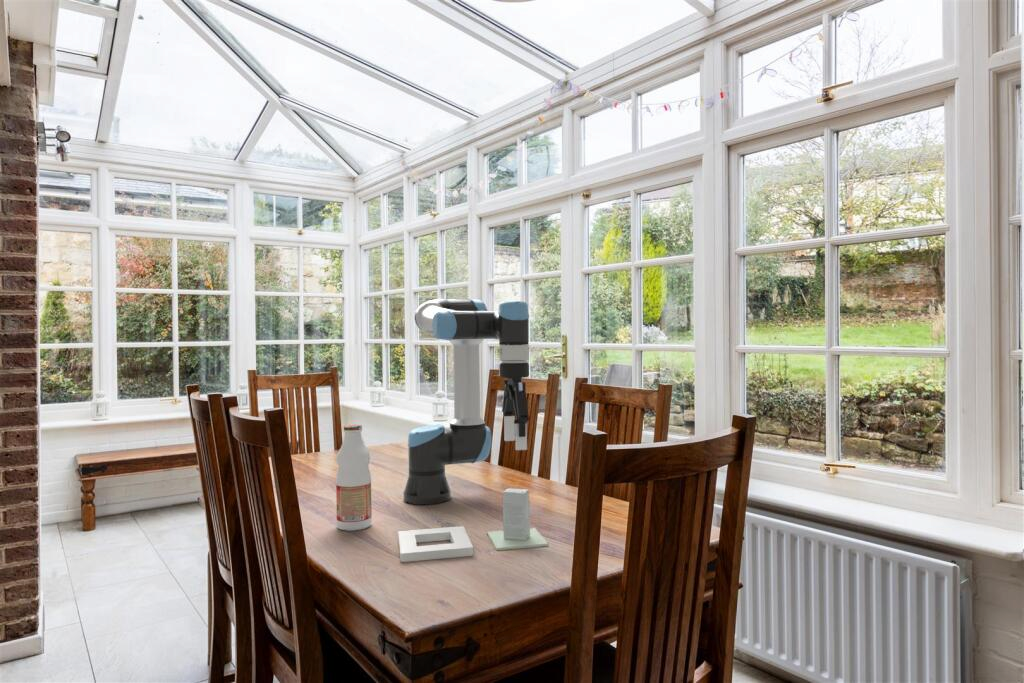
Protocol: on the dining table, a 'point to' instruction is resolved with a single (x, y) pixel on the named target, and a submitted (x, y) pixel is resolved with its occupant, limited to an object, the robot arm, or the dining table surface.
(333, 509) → the dining table surface
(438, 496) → the robot arm
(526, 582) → the dining table surface
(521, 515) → the skincare box
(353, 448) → the fruit juice
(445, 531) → the white frame
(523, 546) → the pad
